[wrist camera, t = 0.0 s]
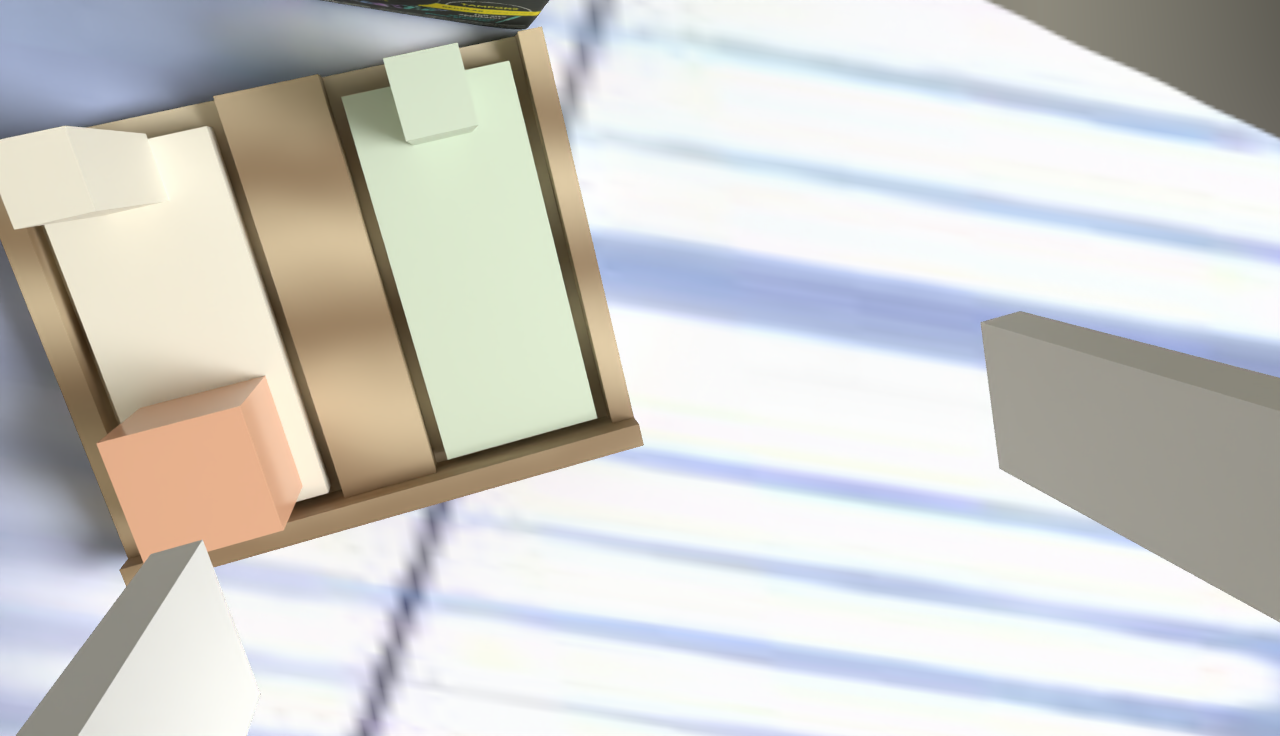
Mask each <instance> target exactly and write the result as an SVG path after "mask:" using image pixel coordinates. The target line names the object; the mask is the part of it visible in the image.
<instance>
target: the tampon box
mask: <svg viewBox="0 0 1280 736" xmlns="http://www.w3.org/2000/svg"><path fill="white" fill-rule="evenodd" d="M322 1H328V2H335V3H341V4H347V5H353V6H359V7H365V8H371V9H377V10H383V11H390V12H396V13H403V14H409V15H416V16H422V17H429V18H436V19H443V20H450V21H456V22H463V23H470V24H477V25H484V26H492V27H500V28H510V29H526V28H528V27H529V26H530V24H531V23H532V22H533V21H534V20H535V18H536V17H537V16H538V15H539V13H540V12H541V10H542V9H543V8H544V6H545V5H546V4H547V3H548V1H549V0H322Z"/></svg>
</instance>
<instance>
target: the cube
mask: <svg viewBox="0 0 1280 736" xmlns="http://www.w3.org/2000/svg"><path fill="white" fill-rule="evenodd" d="M96 444H97V447H98V449H99V452H100V454H101V457H102V459H103V462H104V464H105V467H106V469H107V472H108V474H109V477H110V479H111V482H112V485H113V487H114V490H115V492H116V495H117V497H118V500H119V502H120V505H121V507H122V510H123V512H124V515H125V517H126V520H127V522H128V525H129V527H130V530H131V533H132V535H133V538H134V540H135V543H136V545H137V548H138V550H139V553H140V555H141V558H142V560H143V563H145V561H146V560H147V559H148V557H149V556H150V555H151V554H153V553H157V552H160V551H164V550H167V549H171V548H174V547H178V546H182V545H185V544H189V543H192V542H196V541H200V540H203V542H204V544H205V547H206V550H207V552H209V551H212V550H216V549H219V548H223V547H226V546H230V545H233V544H237V543H241V542H244V541H248V540H251V539H255V538H258V537H262V536H265V535H269V534H273V533H276V532H280V531H283V530H284V529H285V526H286V524H287V522H288V519H289V517H290V515H291V512H292V510H293V508H294V505H295V503H296V501H297V498H298V496H299V494H300V492H301V489H302V487H303V485H302V482H301V479H300V476H299V473H298V470H297V467H296V464H295V461H294V458H293V455H292V453H291V450H290V447H289V444H288V441H287V438H286V435H285V432H284V429H283V426H282V423H281V420H280V417H279V414H278V411H277V408H276V405H275V402H274V399H273V397H272V394H271V391H270V388H269V385H268V382H267V379H266V376H262V377H258V378H254V379H250V380H246V381H243V382H239V383H235V384H231V385H227V386H223V387H219V388H215V389H211V390H207V391H204V392H200V393H196V394H192V395H188V396H184V397H180V398H176V399H172V400H169V401H165V402H161V403H157V404H153V405H149V406H145V407H141V408H139V409H138V410H137V411H136V412H134V413H133V414H132V415H131V416H129V417H128V418H127V419H126V420H124V421H123V422H122V423H121V424H120V425H118V426H117V427H116V428H115V429H113V430H112V431H111V432H110V433H108V434H107V435H106V436H105V437H104V438H102V439H101V440H100V441H99V442H97V443H96Z"/></svg>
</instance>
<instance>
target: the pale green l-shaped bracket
mask: <svg viewBox="0 0 1280 736" xmlns="http://www.w3.org/2000/svg"><path fill="white" fill-rule="evenodd" d="M383 61H384V65H385V68H386V72H387V75H388V79H389V82H390V87H385V88H380V89H376V90H371V91H367V92H362V93H357V94H353V95H348V96H344V97H341V98H342V102H343V105H344V108H345V112H346V115H347V119H348V122H349V125H350V129H351V132H352V136H353V139H354V142H355V146H356V149H357V153H358V156H359V159H360V163H361V166H362V170H363V173H364V176H365V180H366V183H367V187H368V190H369V193H370V197H371V200H372V204H373V207H374V210H375V214H376V217H377V221H378V224H379V228H380V231H381V234H382V238H383V241H384V245H385V248H386V251H387V255H388V258H389V262H390V265H391V268H392V272H393V275H394V279H395V282H396V285H397V289H398V292H399V296H400V299H401V302H402V306H403V309H404V313H405V316H406V319H407V323H408V326H409V330H410V333H411V336H412V340H413V343H414V347H415V350H416V353H417V357H418V360H419V364H420V367H421V371H422V374H423V377H424V381H425V384H426V388H427V391H428V394H429V398H430V401H431V405H432V408H433V411H434V415H435V418H436V422H437V425H438V428H439V432H440V435H441V439H442V442H443V445H444V449H445V452H446V456H447V459H448V460H449V459H452V458H456V457H460V456H463V455H467V454H470V453H474V452H478V451H481V450H485V449H488V448H492V447H496V446H499V445H503V444H506V443H510V442H514V441H517V440H521V439H524V438H528V437H532V436H535V435H539V434H542V433H546V432H550V431H553V430H557V429H560V428H564V427H568V426H571V425H575V424H578V423H582V422H586V421H589V420H593V419H597V415H596V411H595V407H594V403H593V399H592V395H591V391H590V386H589V382H588V378H587V374H586V370H585V366H584V362H583V358H582V354H581V350H580V346H579V342H578V338H577V334H576V330H575V326H574V322H573V317H572V313H571V309H570V305H569V301H568V297H567V293H566V289H565V285H564V281H563V277H562V273H561V269H560V265H559V261H558V257H557V252H556V248H555V244H554V240H553V236H552V232H551V228H550V224H549V220H548V216H547V212H546V208H545V204H544V200H543V196H542V192H541V187H540V183H539V179H538V175H537V171H536V167H535V163H534V159H533V155H532V151H531V147H530V143H529V139H528V135H527V131H526V127H525V123H524V118H523V114H522V110H521V106H520V102H519V98H518V94H517V90H516V86H515V82H514V78H513V74H512V70H511V66H510V62H509V61H505V62H501V63H496V64H491V65H487V66H482V67H477V68H473V69H468V70H465V69H464V65H463V61H462V58H461V54H460V50H459V46H458V43H453V44H448V45H443V46H439V47H434V48H429V49H425V50H420V51H415V52H410V53H406V54H401V55H396V56H392V57H387V58H383Z"/></svg>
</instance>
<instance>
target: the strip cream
mask: <svg viewBox="0 0 1280 736" xmlns="http://www.w3.org/2000/svg"><path fill="white" fill-rule="evenodd" d="M0 195H1V198H2V200H3V203H4V205H5V208H6V210H7V213H8V215H9V218H10V220H11V223H12V225H13V228H14V230H15V229H21V228H27V227H34V226H40V225H44V226H45V229H46V231H47V234H48V236H49V239H50V241H51V244H52V247H53V249H54V252H55V254H56V257H57V260H58V262H59V265H60V267H61V270H62V273H63V275H64V278H65V280H66V283H67V285H68V288H69V291H70V293H71V296H72V298H73V301H74V304H75V306H76V309H77V311H78V314H79V316H80V319H81V322H82V324H83V327H84V329H85V332H86V335H87V337H88V340H89V342H90V345H91V348H92V350H93V353H94V355H95V358H96V360H97V363H98V366H99V368H100V371H101V373H102V376H103V379H104V381H105V384H106V386H107V389H108V392H109V394H110V397H111V399H112V402H113V404H114V407H115V410H116V412H117V415H118V417H119V420H120V423H122V422H123V421H124V420H126V419H127V418H128V417H129V416H131V415H132V414H133V413H134V412H136V411H137V410H138V409H139V408H141V407H145V406H149V405H153V404H157V403H161V402H165V401H169V400H172V399H176V398H180V397H184V396H188V395H192V394H196V393H200V392H204V391H207V390H211V389H215V388H219V387H223V386H227V385H231V384H235V383H239V382H243V381H246V380H250V379H254V378H258V377H262V376H266V379H267V382H268V385H269V388H270V391H271V394H272V397H273V399H274V402H275V405H276V408H277V411H278V414H279V417H280V420H281V423H282V426H283V429H284V432H285V435H286V438H287V441H288V444H289V447H290V450H291V453H292V455H293V458H294V461H295V464H296V467H297V470H298V473H299V476H300V479H301V482H302V485H303V487H302V489H301V492H300V494H299V496H298V498H297V501H301V500H305V499H308V498H312V497H316V496H319V495H323V494H326V493H328V492H329V490H330V487H331V484H330V481H329V478H328V475H327V472H326V469H325V466H324V463H323V460H322V456H321V453H320V450H319V447H318V444H317V441H316V438H315V435H314V432H313V429H312V426H311V423H310V420H309V417H308V414H307V411H306V408H305V405H304V402H303V399H302V396H301V393H300V390H299V387H298V384H297V381H296V378H295V375H294V372H293V369H292V366H291V363H290V360H289V357H288V354H287V351H286V348H285V345H284V342H283V339H282V336H281V333H280V330H279V327H278V324H277V320H276V317H275V314H274V311H273V308H272V305H271V302H270V299H269V296H268V293H267V290H266V287H265V284H264V281H263V278H262V275H261V272H260V269H259V266H258V263H257V260H256V257H255V254H254V251H253V248H252V245H251V242H250V239H249V236H248V233H247V230H246V227H245V224H244V221H243V218H242V215H241V212H240V209H239V206H238V203H237V200H236V197H235V194H234V191H233V188H232V184H231V181H230V178H229V175H228V172H227V169H226V166H225V163H224V160H223V157H222V154H221V151H220V148H219V145H218V142H217V139H216V136H215V133H214V130H213V127H208V126H205V127H200V128H196V129H191V130H186V131H182V132H177V133H173V134H168V135H163V136H159V137H154V138H150V139H148V138H147V136H146V134H144V133H134V132H124V131H114V130H103V129H93V128H83V127H73V126H61V127H56V128H52V129H47V130H42V131H37V132H33V133H28V134H23V135H19V136H14V137H9V138H4V139H0ZM297 501H296V502H297Z"/></svg>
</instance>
